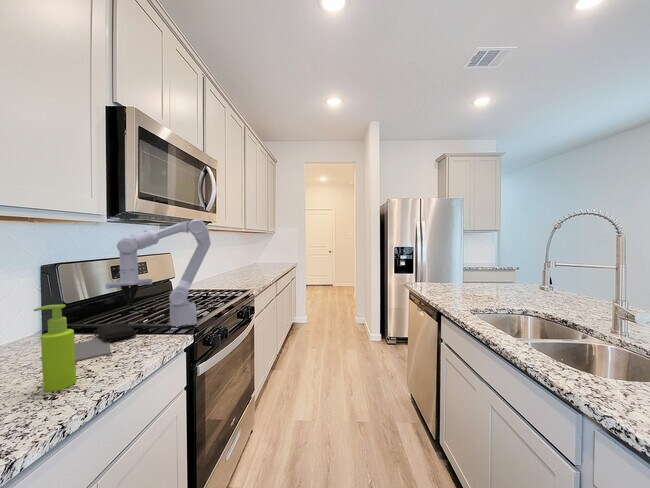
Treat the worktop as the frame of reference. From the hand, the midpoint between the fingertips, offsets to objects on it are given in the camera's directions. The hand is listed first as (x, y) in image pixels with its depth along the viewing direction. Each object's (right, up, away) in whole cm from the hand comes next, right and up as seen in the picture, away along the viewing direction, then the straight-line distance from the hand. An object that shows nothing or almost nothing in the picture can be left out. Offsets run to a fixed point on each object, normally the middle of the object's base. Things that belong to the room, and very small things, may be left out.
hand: (130, 305), depth 107 cm
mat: (-4, -11, -17) cm, 21 cm away
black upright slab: (+3, -9, -10) cm, 13 cm away
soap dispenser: (+8, -12, -38) cm, 41 cm away
